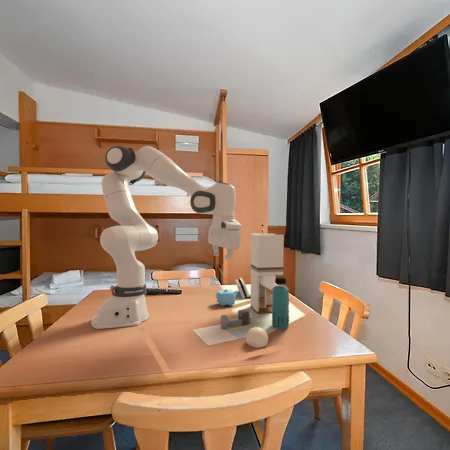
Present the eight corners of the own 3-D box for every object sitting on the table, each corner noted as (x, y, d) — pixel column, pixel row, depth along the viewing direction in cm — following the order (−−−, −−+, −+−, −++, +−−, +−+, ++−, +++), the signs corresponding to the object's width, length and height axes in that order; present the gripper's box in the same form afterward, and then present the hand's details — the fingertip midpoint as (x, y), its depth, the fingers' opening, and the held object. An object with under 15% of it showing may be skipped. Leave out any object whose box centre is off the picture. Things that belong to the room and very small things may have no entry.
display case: (257, 317, 124) (258, 235, 123) (250, 309, 134) (250, 233, 133) (282, 315, 126) (283, 234, 125) (274, 308, 136) (274, 233, 135)
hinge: (252, 298, 152) (246, 280, 151) (244, 301, 152) (237, 284, 151) (247, 290, 169) (241, 274, 168) (239, 293, 168) (233, 277, 168)
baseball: (241, 346, 96) (241, 326, 96) (260, 342, 99) (261, 322, 99) (251, 355, 90) (251, 333, 90) (271, 350, 93) (271, 330, 93)
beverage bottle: (276, 334, 106) (276, 279, 105) (268, 327, 112) (269, 276, 112) (292, 332, 107) (292, 278, 107) (284, 325, 114) (284, 275, 113)
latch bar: (246, 321, 114) (247, 308, 114) (251, 323, 111) (251, 310, 111) (226, 325, 110) (226, 312, 109) (230, 328, 107) (230, 314, 107)
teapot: (237, 302, 146) (237, 287, 145) (241, 305, 140) (241, 290, 140) (214, 303, 143) (214, 288, 143) (216, 307, 137) (216, 291, 137)
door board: (208, 350, 93) (208, 331, 93) (192, 333, 106) (192, 317, 106) (265, 337, 103) (265, 320, 103) (244, 323, 116) (244, 308, 116)
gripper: (205, 221, 123) (203, 254, 124) (229, 225, 105) (227, 262, 106) (218, 222, 126) (216, 253, 127) (244, 225, 108) (242, 261, 109)
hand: (221, 257), depth 116 cm, fingers open, 8 cm apart
